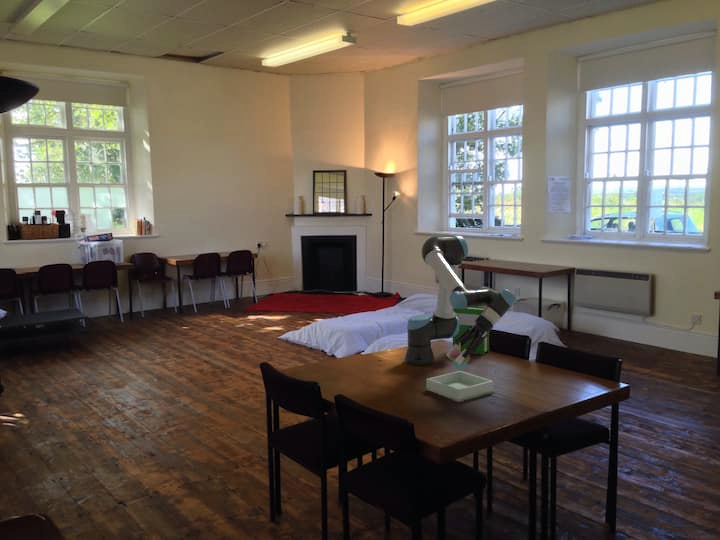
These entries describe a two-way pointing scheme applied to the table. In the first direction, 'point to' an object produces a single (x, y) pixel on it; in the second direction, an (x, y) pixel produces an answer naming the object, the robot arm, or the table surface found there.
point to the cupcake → (455, 355)
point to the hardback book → (467, 319)
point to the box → (459, 386)
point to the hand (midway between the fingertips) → (452, 359)
